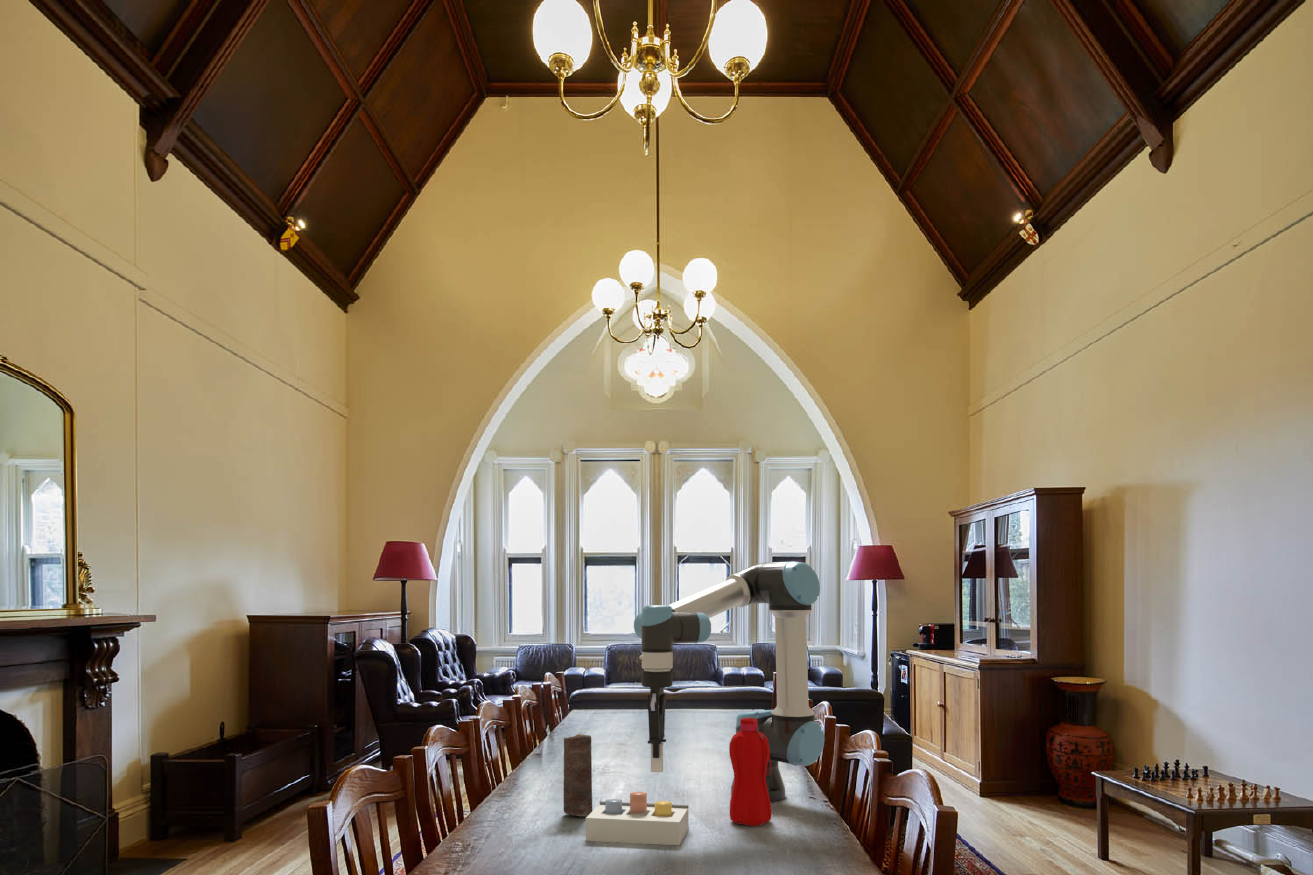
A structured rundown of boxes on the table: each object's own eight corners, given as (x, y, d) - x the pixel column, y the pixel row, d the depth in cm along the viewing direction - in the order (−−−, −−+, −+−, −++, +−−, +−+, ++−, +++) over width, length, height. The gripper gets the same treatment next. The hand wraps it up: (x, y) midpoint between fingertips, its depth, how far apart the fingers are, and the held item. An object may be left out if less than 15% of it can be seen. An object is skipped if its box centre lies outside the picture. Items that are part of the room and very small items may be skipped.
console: (688, 829, 222) (688, 804, 222) (679, 845, 208) (679, 819, 209) (600, 824, 225) (600, 801, 226) (585, 840, 212) (585, 814, 213)
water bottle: (761, 830, 221) (759, 722, 225) (724, 822, 228) (723, 718, 232) (782, 822, 228) (780, 718, 232) (746, 815, 235) (744, 714, 239)
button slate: (623, 816, 220) (623, 799, 221) (620, 820, 216) (620, 802, 217) (607, 815, 221) (607, 798, 221) (603, 819, 217) (603, 802, 217)
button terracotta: (648, 809, 219) (648, 791, 220) (644, 813, 215) (644, 795, 216) (631, 808, 220) (631, 791, 220) (628, 812, 216) (628, 795, 217)
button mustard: (672, 818, 218) (672, 801, 218) (670, 823, 214) (670, 805, 215) (656, 818, 218) (656, 800, 219) (653, 822, 215) (653, 804, 215)
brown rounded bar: (567, 820, 230) (568, 737, 233) (558, 813, 236) (560, 733, 240) (596, 817, 233) (597, 735, 236) (586, 810, 240) (587, 731, 243)
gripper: (646, 667, 229) (646, 765, 225) (636, 671, 216) (636, 776, 212) (676, 667, 228) (676, 766, 224) (668, 672, 215) (668, 777, 211)
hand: (656, 771), depth 218 cm, fingers closed
